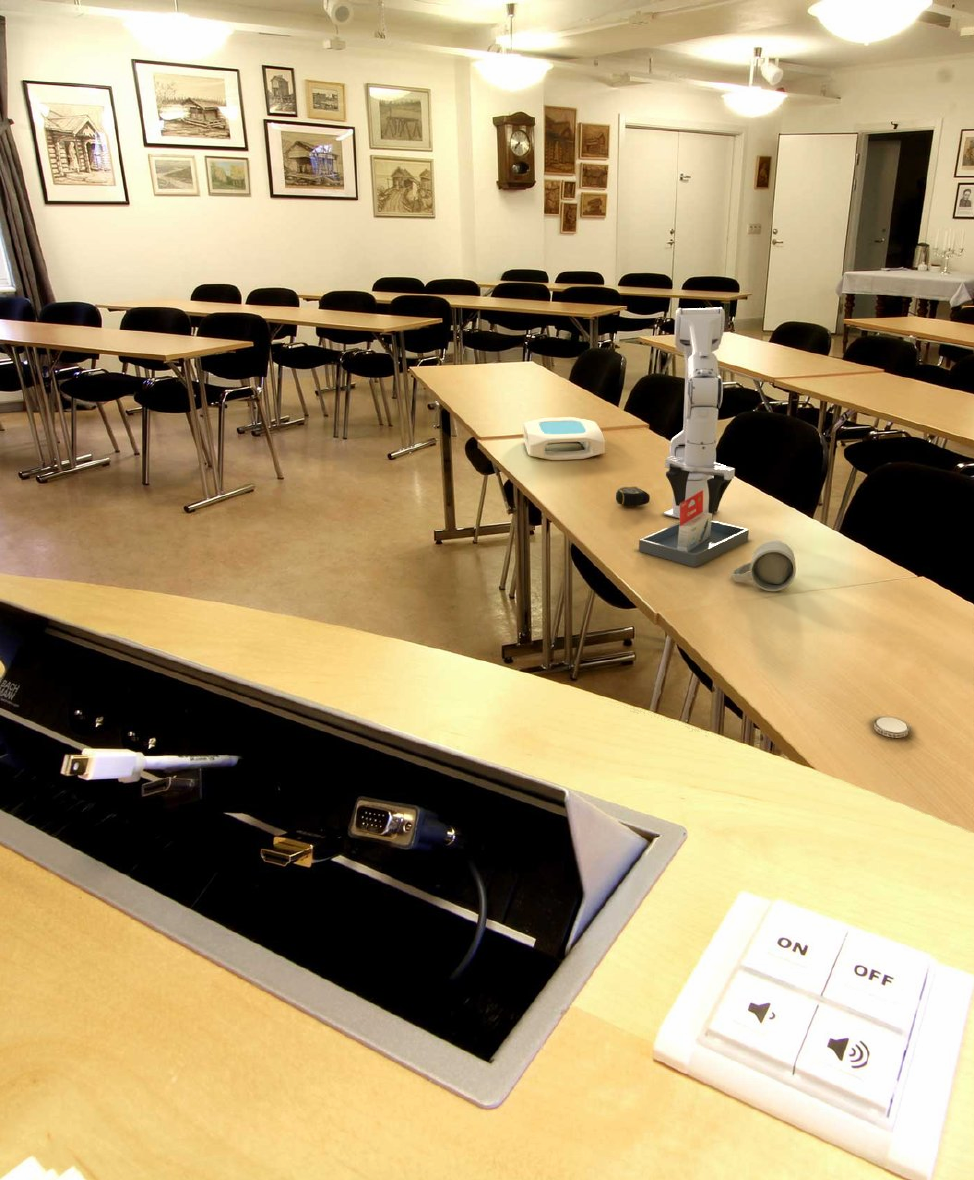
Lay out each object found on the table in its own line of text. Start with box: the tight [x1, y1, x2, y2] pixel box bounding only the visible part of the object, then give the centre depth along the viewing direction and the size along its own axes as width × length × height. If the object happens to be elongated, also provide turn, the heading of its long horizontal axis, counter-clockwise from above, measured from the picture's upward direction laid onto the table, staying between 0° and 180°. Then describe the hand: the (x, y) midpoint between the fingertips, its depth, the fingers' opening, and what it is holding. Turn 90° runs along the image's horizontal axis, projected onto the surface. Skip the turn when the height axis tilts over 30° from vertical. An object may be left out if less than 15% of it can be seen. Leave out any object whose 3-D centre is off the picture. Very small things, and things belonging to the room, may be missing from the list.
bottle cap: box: [873, 716, 910, 739], centre depth 107 cm, size 4×4×1 cm
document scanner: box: [522, 416, 606, 461], centre depth 246 cm, size 21×28×6 cm
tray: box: [638, 520, 750, 568], centre depth 170 cm, size 19×13×2 cm
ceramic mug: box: [731, 540, 797, 592], centre depth 150 cm, size 11×8×8 cm
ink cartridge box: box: [677, 490, 713, 552], centre depth 168 cm, size 2×11×10 cm, turn 143°
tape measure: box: [615, 486, 651, 508], centre depth 195 cm, size 7×7×4 cm
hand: (696, 508), depth 167 cm, fingers open, 7 cm apart
